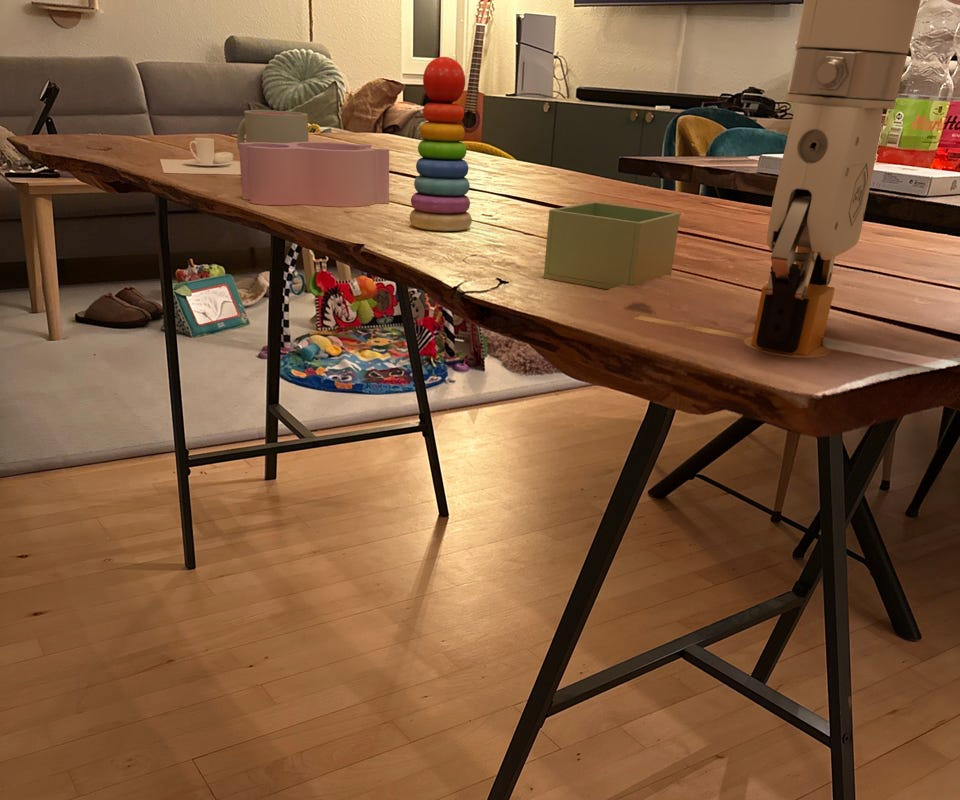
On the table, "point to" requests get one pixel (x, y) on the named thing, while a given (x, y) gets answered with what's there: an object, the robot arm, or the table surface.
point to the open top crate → (609, 244)
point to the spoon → (816, 352)
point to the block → (807, 317)
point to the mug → (273, 127)
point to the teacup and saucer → (203, 161)
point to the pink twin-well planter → (314, 174)
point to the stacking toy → (442, 153)
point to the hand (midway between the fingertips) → (787, 339)
